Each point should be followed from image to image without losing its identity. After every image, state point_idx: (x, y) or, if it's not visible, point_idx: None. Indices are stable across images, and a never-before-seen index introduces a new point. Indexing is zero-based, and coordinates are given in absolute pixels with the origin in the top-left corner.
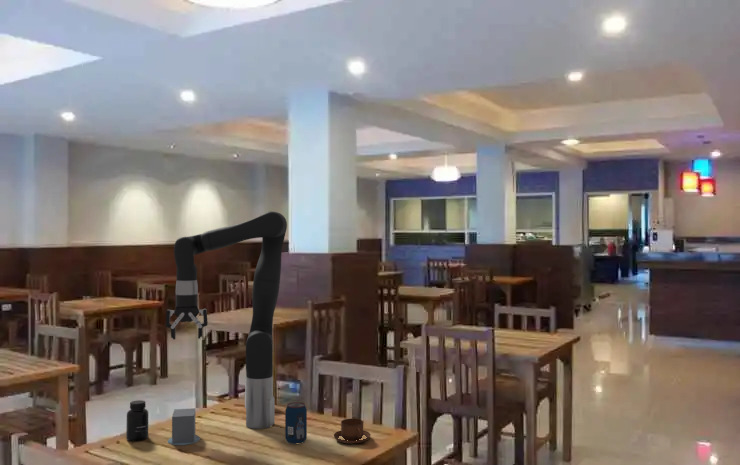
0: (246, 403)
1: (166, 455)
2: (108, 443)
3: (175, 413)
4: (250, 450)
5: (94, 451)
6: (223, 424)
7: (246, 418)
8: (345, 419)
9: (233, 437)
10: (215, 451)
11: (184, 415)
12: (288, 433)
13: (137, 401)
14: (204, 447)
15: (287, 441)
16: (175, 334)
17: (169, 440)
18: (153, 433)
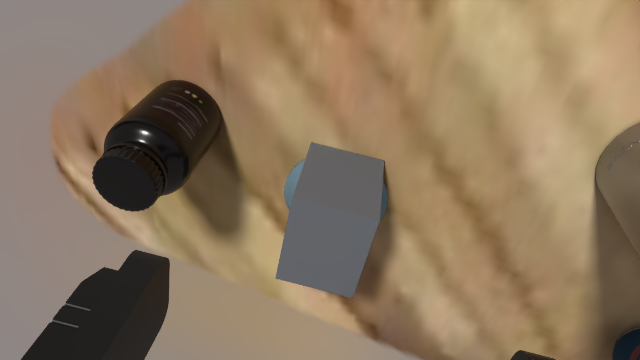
0: (636, 219)
1: (273, 282)
2: (100, 122)
3: (291, 249)
4: (487, 341)
5: (78, 174)
6: (529, 88)
7: (610, 177)
8: None
9: (493, 240)
10: (399, 310)
11: (320, 282)
12: None
13: (120, 175)
14: (380, 275)
15: (614, 347)
16: (136, 308)
17: (289, 187)
18: (240, 81)
